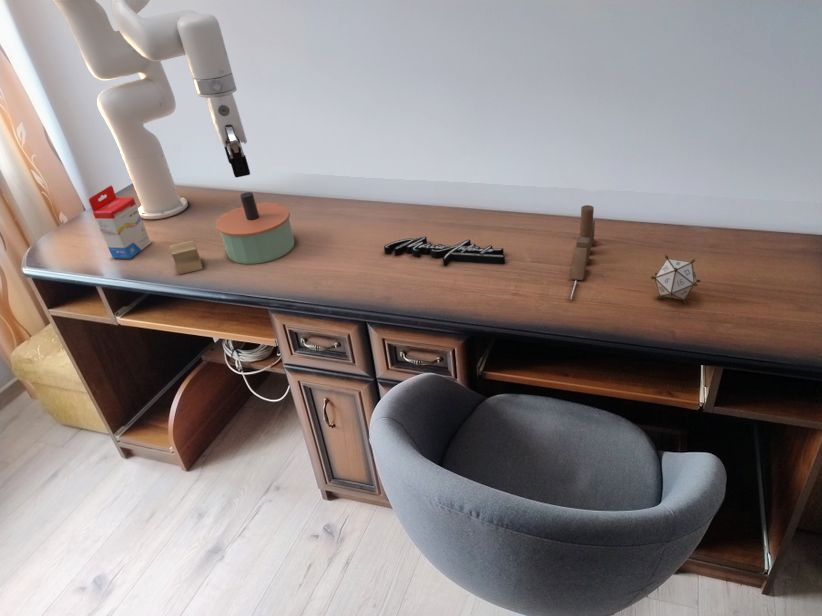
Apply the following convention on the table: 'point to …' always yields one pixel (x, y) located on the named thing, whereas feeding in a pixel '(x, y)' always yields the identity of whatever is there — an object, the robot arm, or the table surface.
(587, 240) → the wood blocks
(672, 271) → the game die
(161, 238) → the table surface
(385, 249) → the nameplate
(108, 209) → the ink box
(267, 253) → the green round container
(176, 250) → the block
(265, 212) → the lid
